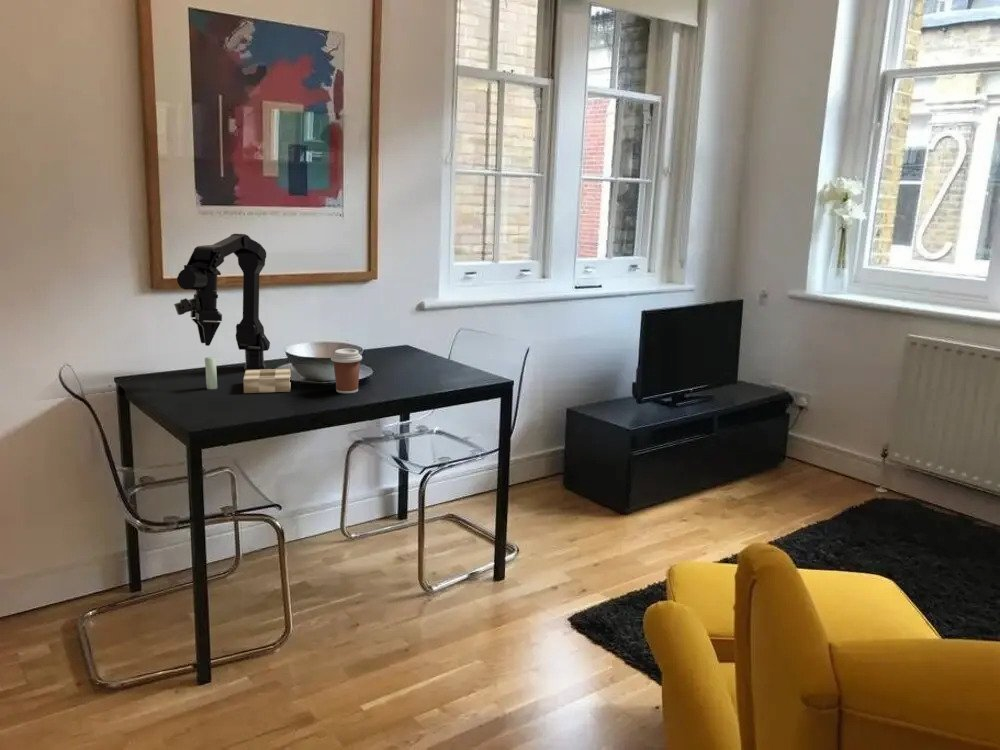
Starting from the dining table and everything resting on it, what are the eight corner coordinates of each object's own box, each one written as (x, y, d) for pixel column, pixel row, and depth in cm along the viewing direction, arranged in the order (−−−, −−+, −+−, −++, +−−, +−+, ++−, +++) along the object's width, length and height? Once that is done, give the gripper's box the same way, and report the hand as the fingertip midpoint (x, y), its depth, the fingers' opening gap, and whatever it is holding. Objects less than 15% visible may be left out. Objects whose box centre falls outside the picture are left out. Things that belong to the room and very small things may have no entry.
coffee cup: (365, 387, 253) (364, 348, 250) (359, 395, 245) (359, 354, 242) (335, 386, 254) (334, 347, 251) (328, 394, 245) (327, 353, 242)
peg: (207, 386, 249) (205, 357, 247) (217, 386, 250) (216, 357, 248) (206, 389, 246) (204, 359, 244) (216, 389, 247) (215, 359, 245)
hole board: (246, 382, 255) (245, 369, 254) (290, 381, 258) (290, 368, 257) (244, 393, 243) (243, 379, 242) (290, 391, 246) (289, 378, 245)
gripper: (173, 288, 247) (171, 341, 248) (180, 289, 230) (179, 346, 232) (212, 290, 252) (211, 342, 253) (222, 291, 235) (221, 347, 237)
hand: (205, 344), depth 243 cm, fingers open, 9 cm apart
